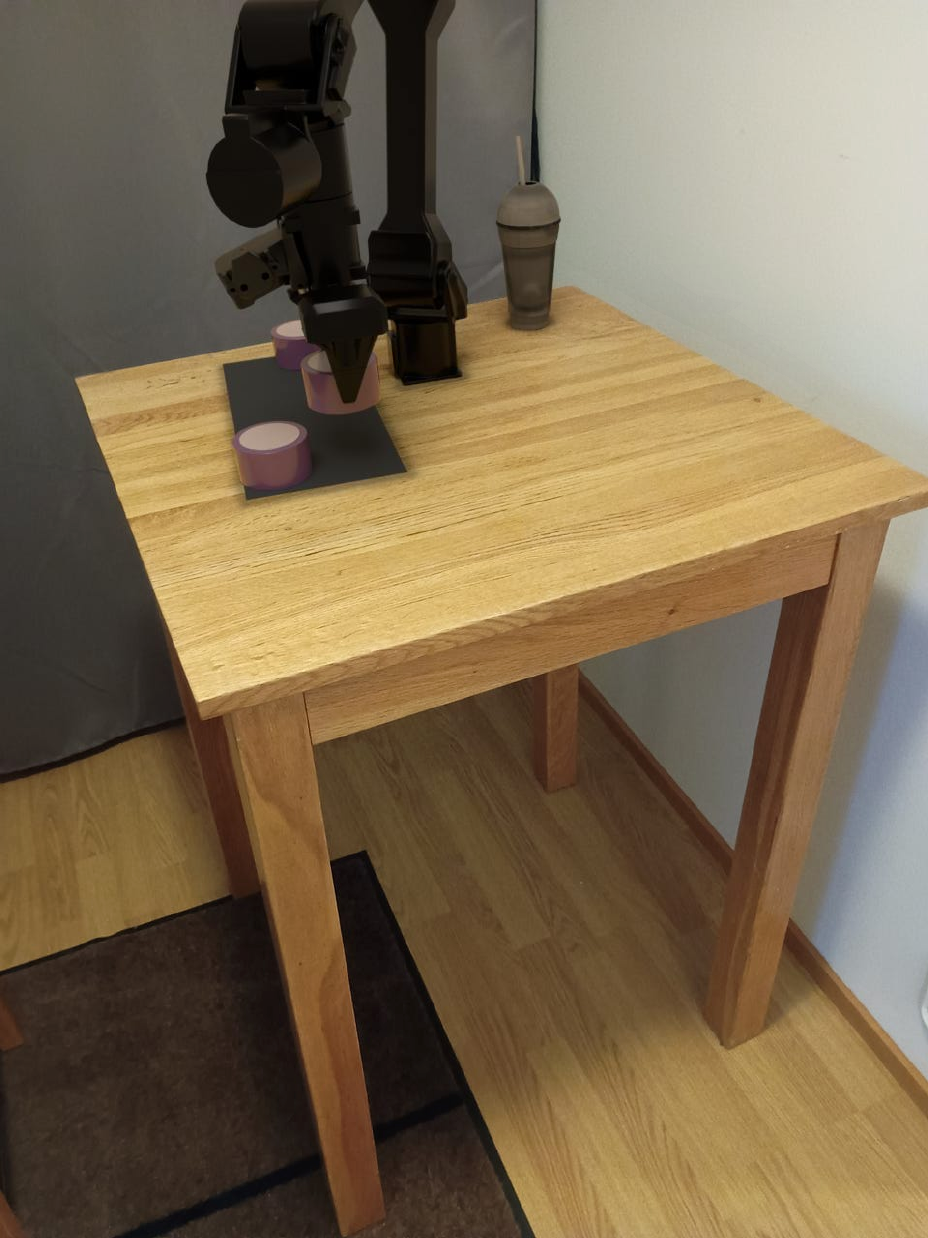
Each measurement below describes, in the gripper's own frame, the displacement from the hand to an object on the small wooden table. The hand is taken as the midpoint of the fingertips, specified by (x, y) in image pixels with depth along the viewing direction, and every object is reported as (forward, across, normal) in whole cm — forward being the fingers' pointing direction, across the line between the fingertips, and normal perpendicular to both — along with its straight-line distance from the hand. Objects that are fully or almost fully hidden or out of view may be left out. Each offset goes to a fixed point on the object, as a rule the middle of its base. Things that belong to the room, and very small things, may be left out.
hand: (342, 387), depth 80 cm
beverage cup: (+7, -27, +26) cm, 38 cm away
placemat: (+7, -12, -3) cm, 14 cm away
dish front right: (+6, +1, -7) cm, 10 cm away
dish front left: (+1, 0, 0) cm, 1 cm away
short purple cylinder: (+6, -26, -1) cm, 26 cm away
